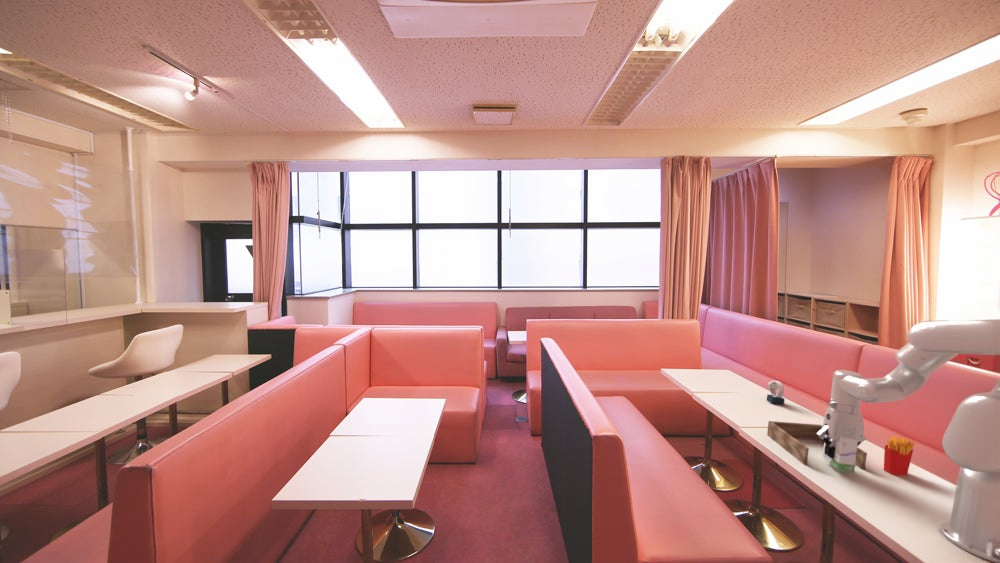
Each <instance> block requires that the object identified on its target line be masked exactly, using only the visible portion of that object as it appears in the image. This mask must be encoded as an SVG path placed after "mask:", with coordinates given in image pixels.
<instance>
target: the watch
mask: <svg viewBox="0 0 1000 563" xmlns="http://www.w3.org/2000/svg"><path fill="white" fill-rule="evenodd" d="M767 385H768V390H769V392H770V394H767V396H766V402H768V403H769V404H772V405H779V406H784V405H785V400H786V399H785V398H784V397H783V395H784V393H785V392H784V391H785V389H784V385H783V383H782V382H781V381H779V380H771V381H769V382H768V383H767ZM777 389H778V391H777V392H776V390H777Z"/></svg>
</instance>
